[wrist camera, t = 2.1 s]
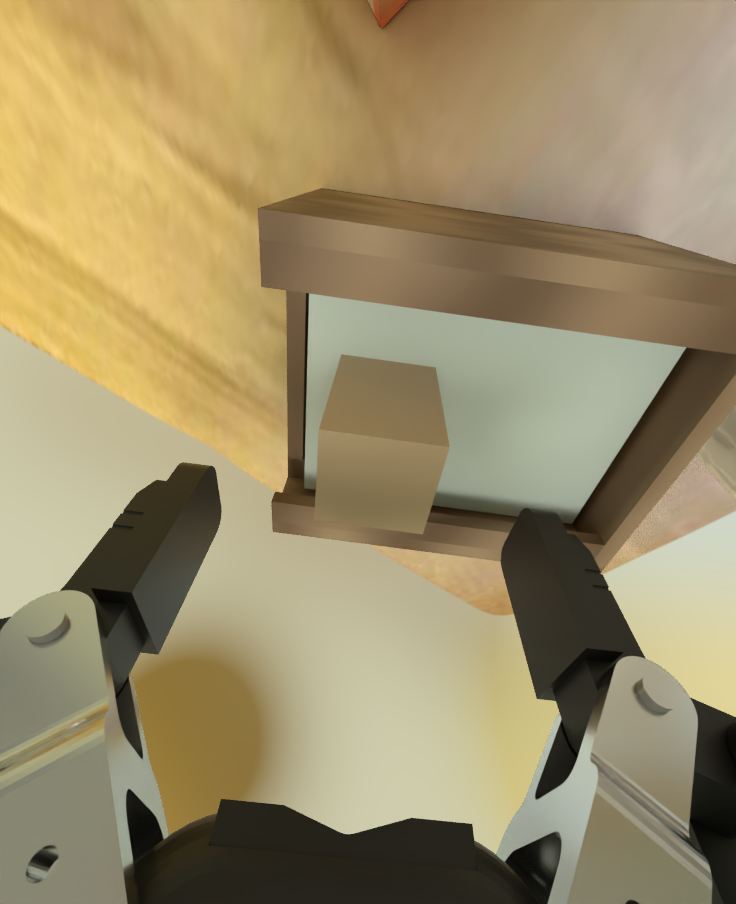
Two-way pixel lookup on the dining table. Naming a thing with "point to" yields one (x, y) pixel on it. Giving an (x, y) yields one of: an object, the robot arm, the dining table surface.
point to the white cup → (722, 453)
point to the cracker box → (385, 9)
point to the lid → (463, 412)
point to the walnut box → (518, 301)
